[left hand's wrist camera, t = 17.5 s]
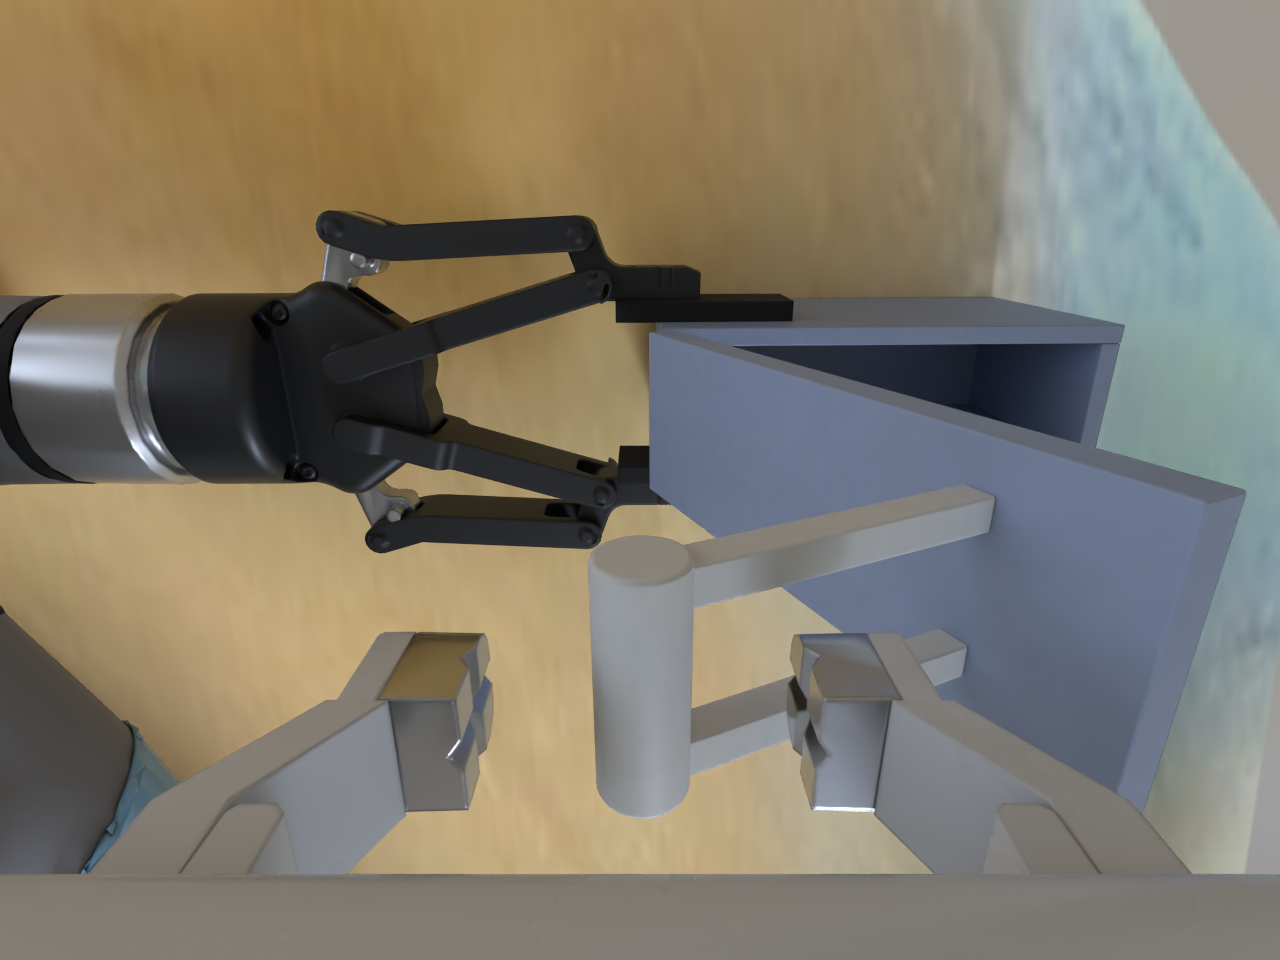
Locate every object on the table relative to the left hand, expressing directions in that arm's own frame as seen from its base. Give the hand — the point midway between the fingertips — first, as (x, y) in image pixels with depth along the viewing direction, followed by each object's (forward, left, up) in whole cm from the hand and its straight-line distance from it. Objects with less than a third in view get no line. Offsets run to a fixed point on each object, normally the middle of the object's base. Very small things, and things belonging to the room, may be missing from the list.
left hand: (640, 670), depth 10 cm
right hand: (-3, -5, -18) cm, 19 cm away
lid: (-3, -4, -8) cm, 9 cm away
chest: (-5, -7, -25) cm, 27 cm away
